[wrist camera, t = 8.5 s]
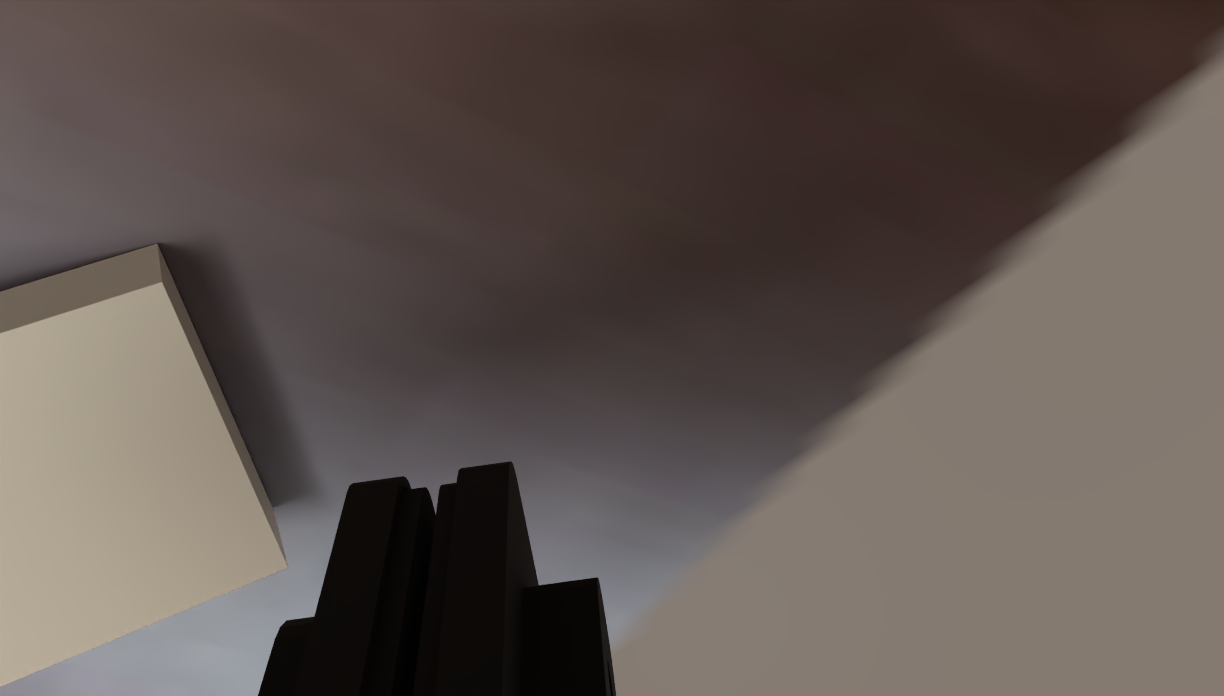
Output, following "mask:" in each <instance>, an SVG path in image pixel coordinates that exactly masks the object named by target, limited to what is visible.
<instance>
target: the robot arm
mask: <svg viewBox="0 0 1224 696" xmlns="http://www.w3.org/2000/svg"><path fill="white" fill-rule="evenodd" d="M258 696H616V691H615V683H614V674H613V666H612V658H611V651H610V644H609V637H608V631H607V624H606V618H605V612H604V606H603V600H602V594H601V589H600V583H599V579H598V578H590V579H583V580H576V581H568V582H561V583H554V584H547V585H538V580H537V575H536V570H535V565H534V560H533V555H532V550H531V546H530V541H529V536H528V531H527V526H526V521H525V516H524V511H523V507H522V502H521V497H520V492H519V487H518V482H517V477H516V473H515V469H514V466H513V463H512V462H504V463H496V464H489V465H482V466H475V467H467V468H460V470H459V471H458V476H457V483H453V484H445V485H441V486H440V490H439V496H438V504H437V512H436V515H435V511H434V507H433V503H432V499H431V496H430V493H429V491H428V489H427V488H426V487H424V488H416V489H411V487H410V484H409V482H408V480H407V478H405V477H404V476H402V477H395V478H388V479H380V480H373V481H366V482H359V483H353V484H351V485H350V486H349V489H348V491H347V494H346V498H345V502H344V506H343V510H342V514H341V517H340V521H339V525H338V529H337V533H336V536H335V540H334V544H333V548H332V552H331V556H330V559H329V563H328V567H327V571H326V575H325V578H324V582H323V586H322V590H321V594H320V597H319V601H318V605H317V609H316V613H315V617H309V618H302V619H294V620H287V621H286V622H285V623H284V624H283V625H282V626H281V627H280V629H279V631H278V633H277V636H276V638H275V641H274V644H273V647H272V651H271V654H270V657H269V661H268V664H267V667H266V671H265V674H264V677H263V681H262V684H261V687H260V691H259V694H258Z"/></svg>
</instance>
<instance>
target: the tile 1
mask: <svg viewBox="0 0 1224 696" xmlns="http://www.w3.org/2000/svg"><path fill="white" fill-rule="evenodd" d="M286 568H288V565H287V561H286V557H285V553H284V549H283V545H282V541H281V537H280V533H279V529H278V526H277V522H276V518H275V514H274V510H273V508H272V505H271V503H270V501H269V499H268V496H267V494H266V492H265V489H264V487H263V485H262V483H261V480H260V478H259V476H258V473H257V471H256V469H255V466H254V464H253V462H252V460H251V457H250V455H249V453H248V450H247V448H246V446H245V444H244V441H243V439H242V437H241V434H240V432H239V430H238V427H237V425H236V423H235V421H234V418H233V416H232V414H231V411H230V409H229V407H228V405H227V402H226V400H225V398H224V395H223V393H222V391H221V388H220V386H219V384H218V382H217V379H216V377H215V375H214V372H213V370H212V368H211V366H210V363H209V361H208V359H207V356H206V354H205V352H204V349H203V347H202V345H201V343H200V340H199V338H198V336H197V333H196V331H195V329H194V327H193V324H192V322H191V320H190V317H189V315H188V313H187V310H186V308H185V306H184V304H183V301H182V299H181V297H180V294H179V292H178V290H177V288H176V285H175V283H174V281H173V278H172V276H171V274H170V271H169V269H168V267H167V265H166V262H165V260H164V258H163V255H162V253H161V251H160V248H159V246H158V244H154V245H151V246H148V247H144V248H141V249H138V250H135V251H131V252H128V253H125V254H121V255H118V256H115V257H112V258H108V259H105V260H102V261H99V262H95V263H92V264H89V265H86V266H82V267H79V268H76V269H73V270H69V271H66V272H63V273H59V274H56V275H53V276H50V277H46V278H43V279H40V280H37V281H33V282H30V283H27V284H24V285H20V286H17V287H14V288H10V289H7V290H4V291H1V292H0V687H1V686H3V685H5V684H8V683H10V682H13V681H15V680H17V679H20V678H22V677H25V676H27V675H30V674H32V673H34V672H37V671H39V670H42V669H44V668H47V667H49V666H51V665H54V664H56V663H59V662H61V661H63V660H66V659H68V658H71V657H73V656H76V655H78V654H80V653H83V652H85V651H88V650H90V649H92V648H95V647H97V646H100V645H102V644H105V643H107V642H109V641H112V640H114V639H117V638H119V637H121V636H124V635H126V634H129V633H131V632H134V631H136V630H138V629H141V628H143V627H146V626H148V625H150V624H153V623H155V622H158V621H160V620H163V619H165V618H167V617H170V616H172V615H175V614H177V613H179V612H182V611H184V610H187V609H189V608H192V607H194V606H196V605H199V604H201V603H204V602H206V601H208V600H211V599H213V598H216V597H218V596H221V595H223V594H225V593H228V592H230V591H233V590H235V589H237V588H240V587H242V586H245V585H247V584H250V583H252V582H254V581H257V580H259V579H262V578H264V577H266V576H269V575H271V574H274V573H276V572H279V571H281V570H283V569H286Z"/></svg>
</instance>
